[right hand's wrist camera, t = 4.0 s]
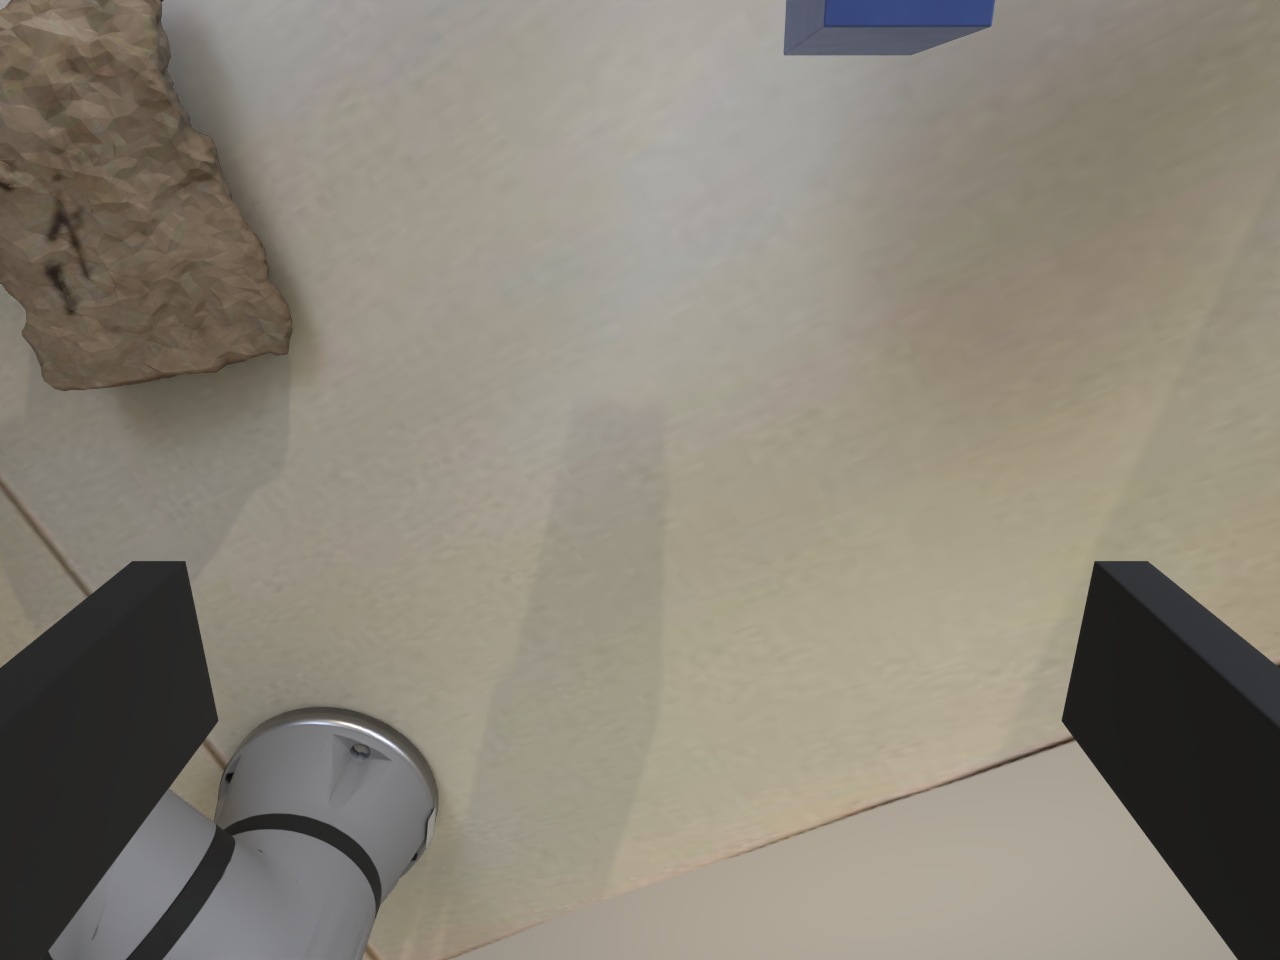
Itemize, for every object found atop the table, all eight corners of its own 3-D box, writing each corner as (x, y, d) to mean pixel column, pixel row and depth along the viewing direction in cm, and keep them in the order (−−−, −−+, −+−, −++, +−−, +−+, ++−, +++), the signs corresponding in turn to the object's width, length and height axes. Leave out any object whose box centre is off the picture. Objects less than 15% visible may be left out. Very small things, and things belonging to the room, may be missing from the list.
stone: (-149, 12, 43) (-221, 10, 38) (156, -54, 45) (127, -66, 40) (75, 393, 53) (42, 431, 48) (314, 326, 55) (307, 356, 50)
